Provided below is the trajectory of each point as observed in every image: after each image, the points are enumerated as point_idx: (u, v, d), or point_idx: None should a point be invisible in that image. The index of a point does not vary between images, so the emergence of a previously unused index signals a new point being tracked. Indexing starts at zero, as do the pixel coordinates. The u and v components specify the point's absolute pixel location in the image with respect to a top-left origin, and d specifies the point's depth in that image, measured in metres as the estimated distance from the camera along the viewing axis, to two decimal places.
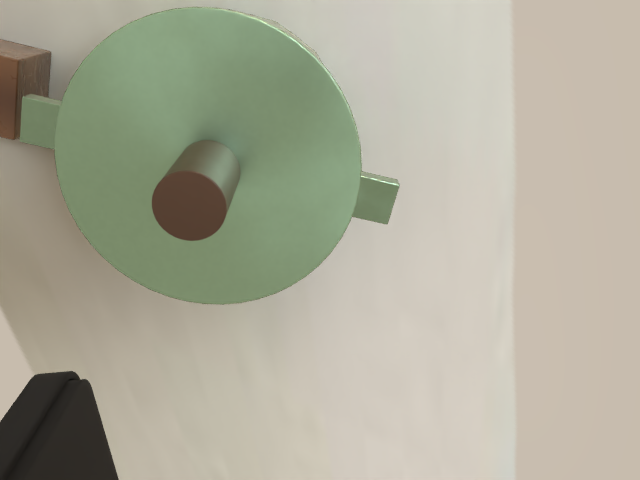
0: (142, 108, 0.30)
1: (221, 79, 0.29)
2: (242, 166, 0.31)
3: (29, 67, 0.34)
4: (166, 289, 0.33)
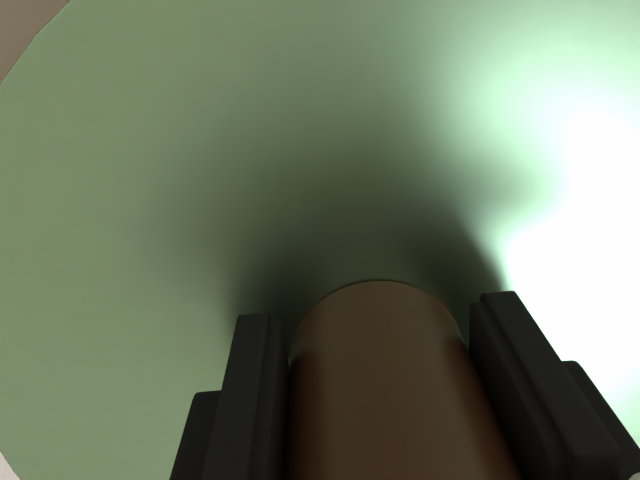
0: (508, 150, 0.10)
1: (626, 325, 0.11)
2: None
3: None
4: None
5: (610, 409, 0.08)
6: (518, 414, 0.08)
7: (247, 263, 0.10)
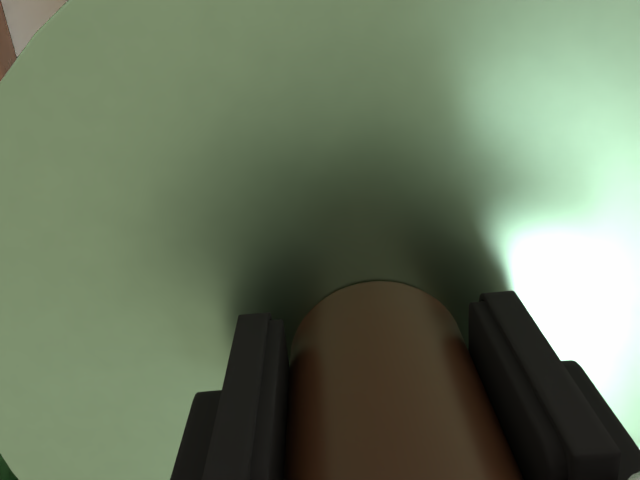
0: (508, 150, 0.10)
1: (627, 325, 0.11)
2: None
3: None
4: None
5: (609, 409, 0.08)
6: (517, 414, 0.08)
7: (247, 263, 0.10)
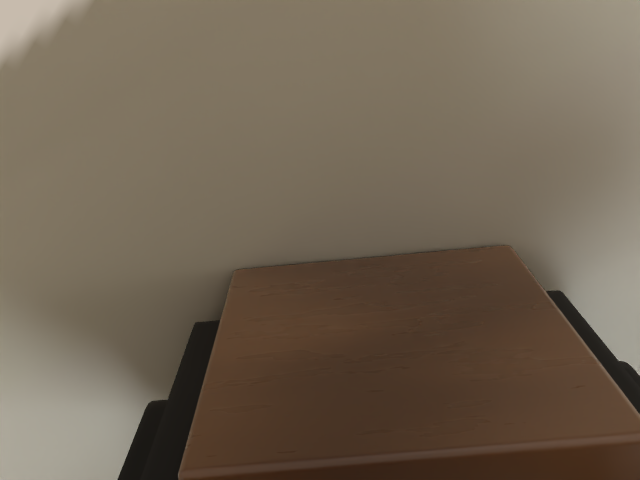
0: None
1: None
2: None
3: None
4: None
5: None
6: None
7: None
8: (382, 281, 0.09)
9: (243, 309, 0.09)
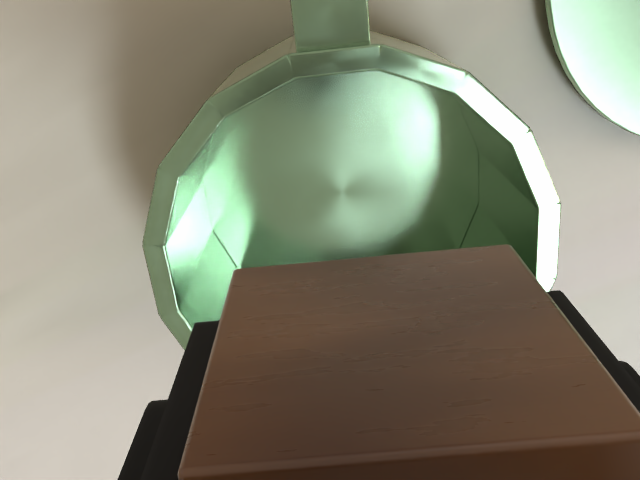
0: None
1: None
2: None
3: None
4: None
5: None
6: None
7: None
8: (381, 280, 0.09)
9: (244, 308, 0.09)
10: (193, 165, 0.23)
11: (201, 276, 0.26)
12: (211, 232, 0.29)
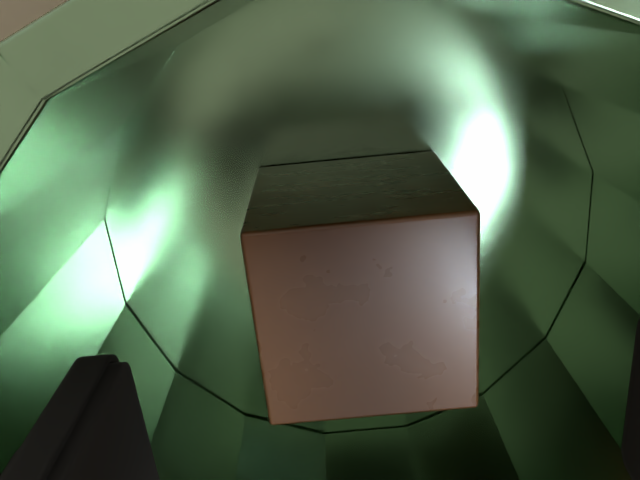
0: None
1: None
2: None
3: None
4: None
5: None
6: None
7: None
8: (351, 168, 0.15)
9: (267, 181, 0.14)
10: (37, 208, 0.11)
11: None
12: (122, 309, 0.17)
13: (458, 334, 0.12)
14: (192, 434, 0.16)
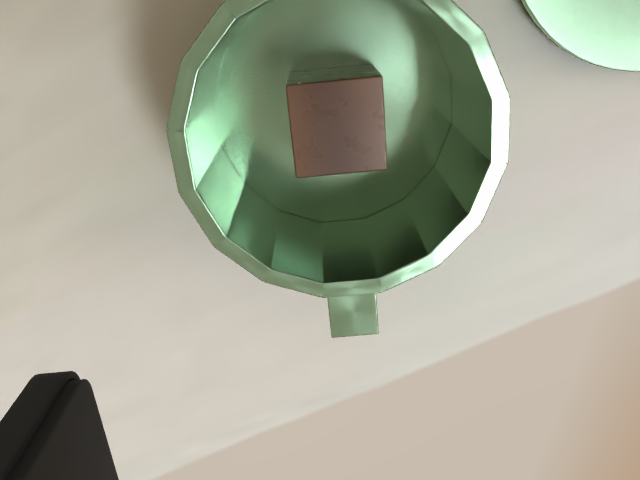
0: None
1: None
2: None
3: None
4: None
5: None
6: None
7: None
8: (332, 70, 0.32)
9: (294, 75, 0.31)
10: (207, 71, 0.28)
11: (212, 173, 0.30)
12: (220, 146, 0.34)
13: (376, 132, 0.29)
14: (255, 206, 0.33)
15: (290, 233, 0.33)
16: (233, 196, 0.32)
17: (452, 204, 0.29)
